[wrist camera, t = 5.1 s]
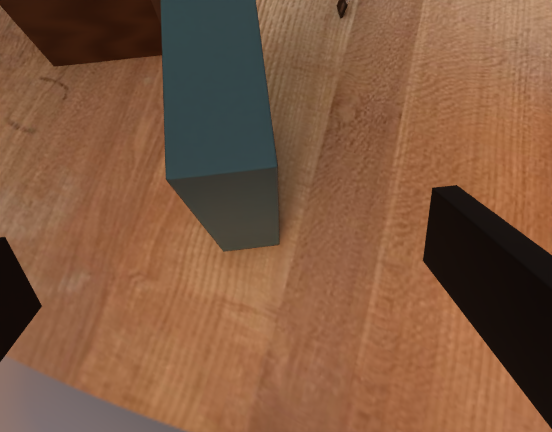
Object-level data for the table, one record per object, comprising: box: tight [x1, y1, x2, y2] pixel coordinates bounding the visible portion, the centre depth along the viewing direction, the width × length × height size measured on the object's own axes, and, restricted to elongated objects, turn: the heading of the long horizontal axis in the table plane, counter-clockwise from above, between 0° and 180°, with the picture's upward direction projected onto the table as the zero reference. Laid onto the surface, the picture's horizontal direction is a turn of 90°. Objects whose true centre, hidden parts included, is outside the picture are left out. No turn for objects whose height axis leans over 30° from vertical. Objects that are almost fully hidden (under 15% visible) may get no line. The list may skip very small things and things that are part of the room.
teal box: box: [161, 0, 279, 251], centre depth 20 cm, size 4×9×13 cm, turn 7°
